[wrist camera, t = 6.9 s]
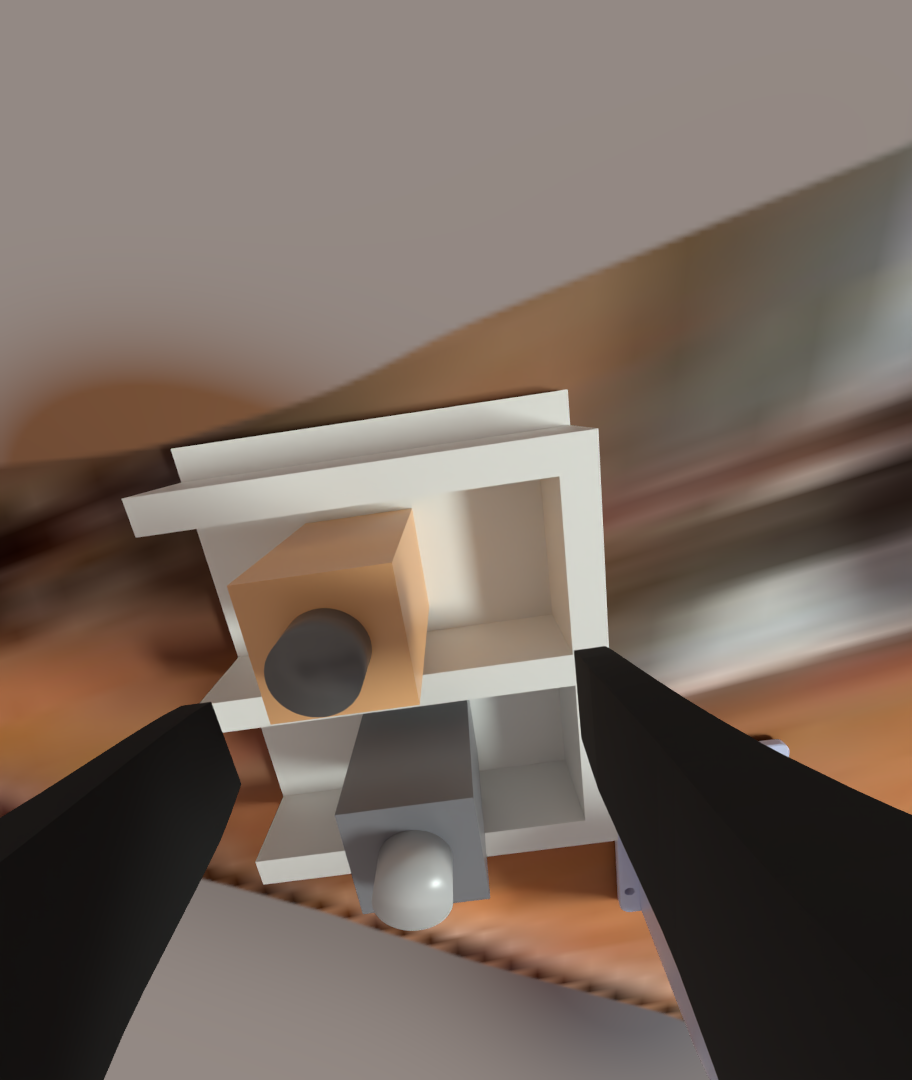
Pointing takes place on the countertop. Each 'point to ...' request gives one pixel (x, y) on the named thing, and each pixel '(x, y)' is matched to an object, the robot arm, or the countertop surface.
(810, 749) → the countertop surface
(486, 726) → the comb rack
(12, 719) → the countertop surface
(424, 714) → the charcoal plug
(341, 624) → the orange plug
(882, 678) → the countertop surface
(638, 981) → the countertop surface
